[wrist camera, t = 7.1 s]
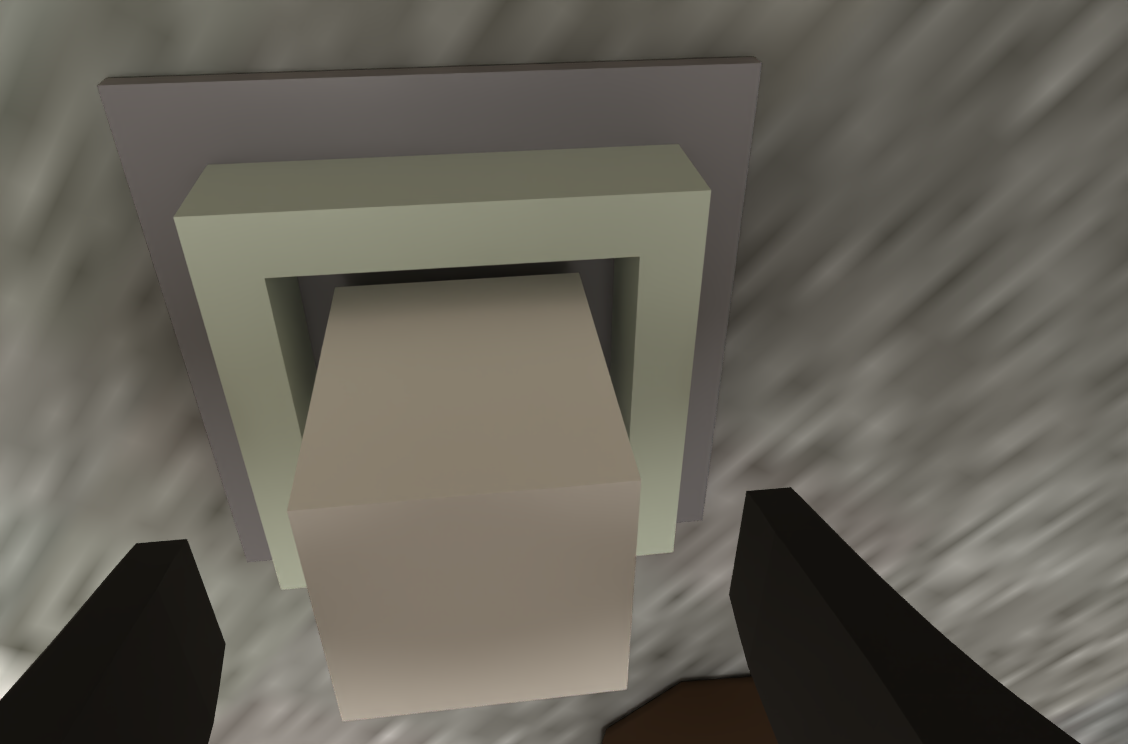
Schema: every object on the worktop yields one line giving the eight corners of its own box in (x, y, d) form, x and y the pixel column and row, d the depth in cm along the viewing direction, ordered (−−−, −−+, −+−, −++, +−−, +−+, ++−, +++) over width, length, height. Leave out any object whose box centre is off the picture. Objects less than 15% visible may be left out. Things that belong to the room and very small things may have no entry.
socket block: (753, 56, 13) (808, 100, 11) (698, 508, 19) (727, 589, 17) (105, 78, 12) (42, 129, 10) (251, 548, 18) (227, 639, 16)
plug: (572, 251, 14) (641, 480, 10) (571, 430, 17) (627, 689, 12) (339, 265, 14) (286, 510, 9) (371, 445, 16) (342, 721, 11)
